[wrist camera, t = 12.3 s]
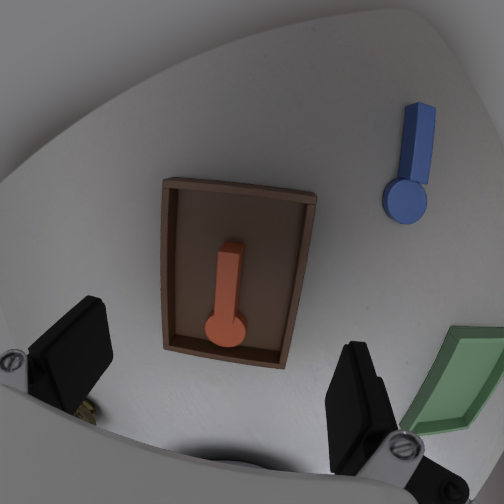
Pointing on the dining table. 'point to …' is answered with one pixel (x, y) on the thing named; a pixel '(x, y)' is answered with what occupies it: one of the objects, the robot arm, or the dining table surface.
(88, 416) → the decorative vase
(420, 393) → the green tray
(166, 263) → the tray
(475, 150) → the dining table surface
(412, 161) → the blue spoon
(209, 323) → the terracotta spoon
